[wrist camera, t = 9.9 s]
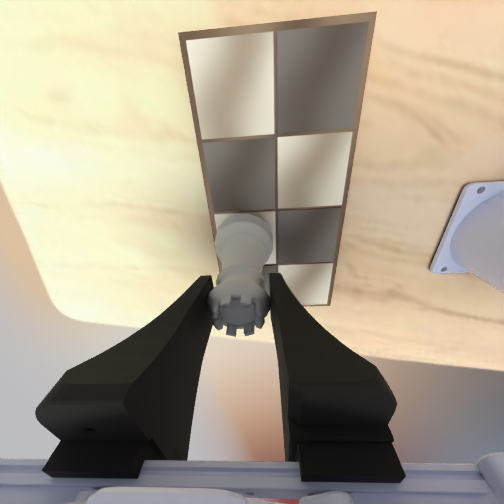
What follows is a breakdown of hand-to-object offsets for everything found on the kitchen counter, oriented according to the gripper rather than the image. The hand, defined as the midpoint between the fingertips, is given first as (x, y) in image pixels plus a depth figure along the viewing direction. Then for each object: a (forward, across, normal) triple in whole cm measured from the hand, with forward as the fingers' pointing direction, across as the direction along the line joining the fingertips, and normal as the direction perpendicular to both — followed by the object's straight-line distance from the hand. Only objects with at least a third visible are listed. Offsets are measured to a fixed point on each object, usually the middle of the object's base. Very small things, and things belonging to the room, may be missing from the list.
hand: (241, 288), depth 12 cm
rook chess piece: (+6, 0, -1) cm, 6 cm away
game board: (+7, -2, -2) cm, 8 cm away
